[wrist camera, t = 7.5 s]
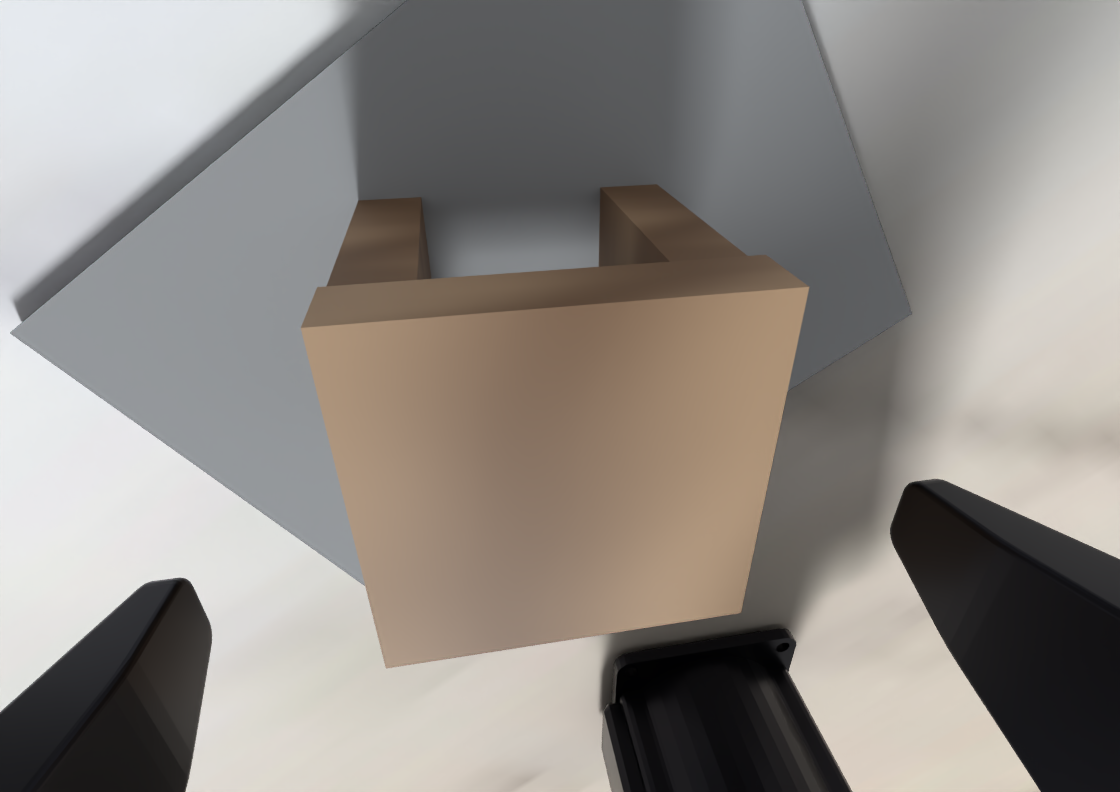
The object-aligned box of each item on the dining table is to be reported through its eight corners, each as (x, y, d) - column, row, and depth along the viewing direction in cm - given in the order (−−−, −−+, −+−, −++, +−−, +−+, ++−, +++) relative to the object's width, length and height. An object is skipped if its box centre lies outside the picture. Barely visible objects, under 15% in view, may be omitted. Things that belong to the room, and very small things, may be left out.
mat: (702, -247, 10) (711, -255, 10) (902, 307, 16) (912, 313, 16) (20, 324, 13) (9, 332, 12) (416, 611, 19) (415, 622, 19)
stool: (657, 173, 13) (809, 287, 8) (641, 417, 16) (740, 612, 11) (356, 189, 12) (300, 327, 7) (401, 443, 15) (385, 668, 10)
